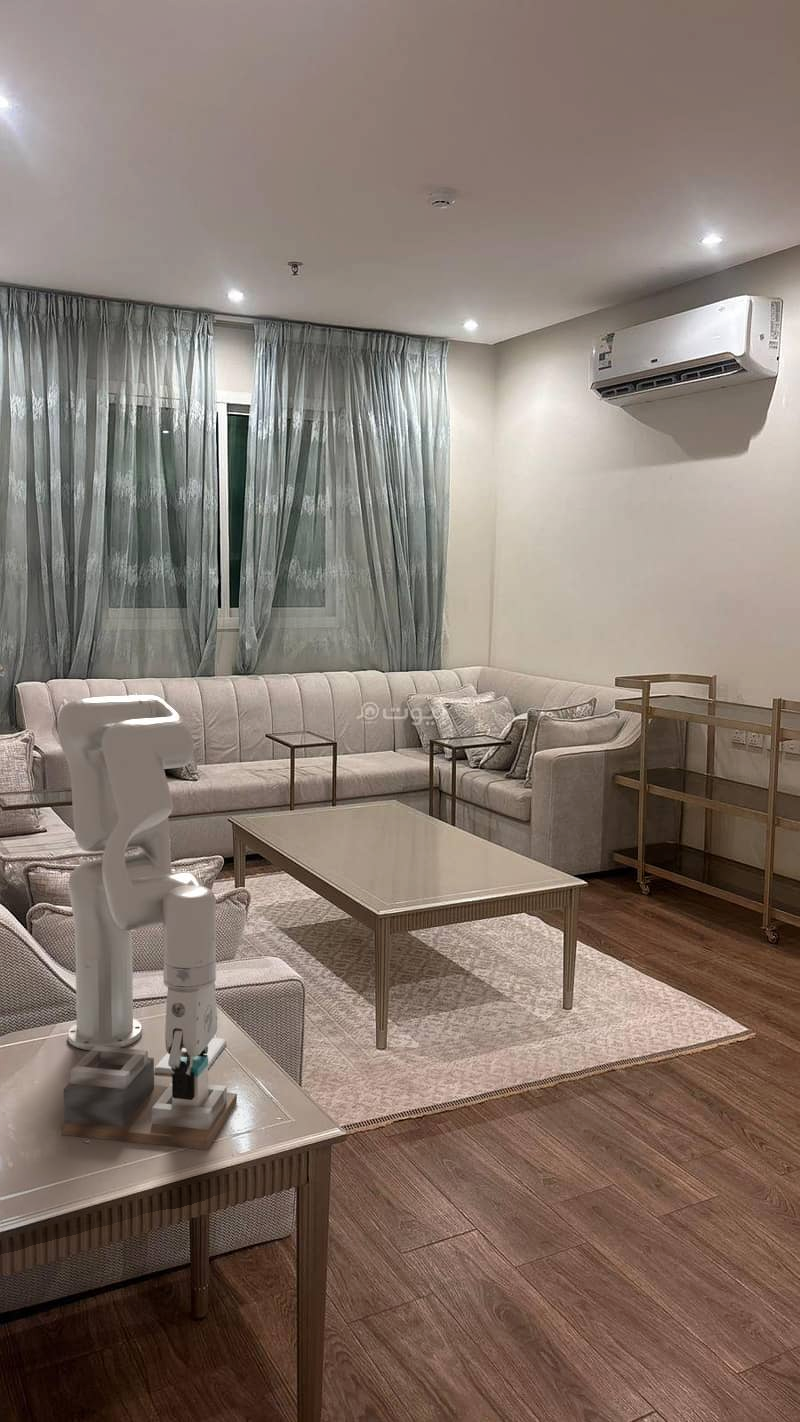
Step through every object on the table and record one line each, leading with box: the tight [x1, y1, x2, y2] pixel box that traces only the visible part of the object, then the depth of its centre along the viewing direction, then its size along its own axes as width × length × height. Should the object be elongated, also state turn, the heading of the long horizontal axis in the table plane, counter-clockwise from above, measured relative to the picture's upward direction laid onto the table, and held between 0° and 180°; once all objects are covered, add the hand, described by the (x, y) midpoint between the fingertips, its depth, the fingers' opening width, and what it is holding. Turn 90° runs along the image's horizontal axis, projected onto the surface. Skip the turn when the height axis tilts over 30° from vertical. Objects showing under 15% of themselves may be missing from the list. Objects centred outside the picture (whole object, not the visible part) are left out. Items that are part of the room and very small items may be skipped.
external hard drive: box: [154, 1037, 227, 1075], centre depth 182 cm, size 2×8×12 cm
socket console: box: [60, 1046, 238, 1151], centre depth 162 cm, size 22×14×8 cm, turn 81°
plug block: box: [172, 1056, 209, 1107], centre depth 161 cm, size 4×4×8 cm
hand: (190, 1087), depth 161 cm, fingers open, 5 cm apart
